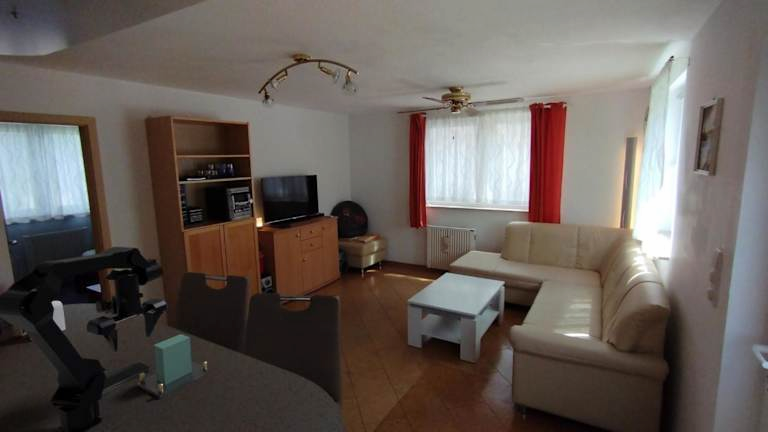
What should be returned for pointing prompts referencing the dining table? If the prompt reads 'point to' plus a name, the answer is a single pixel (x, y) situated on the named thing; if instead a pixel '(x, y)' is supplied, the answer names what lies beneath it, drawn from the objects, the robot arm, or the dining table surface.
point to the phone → (124, 376)
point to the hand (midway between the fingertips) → (132, 343)
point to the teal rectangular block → (173, 358)
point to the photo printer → (58, 315)
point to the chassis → (163, 390)
